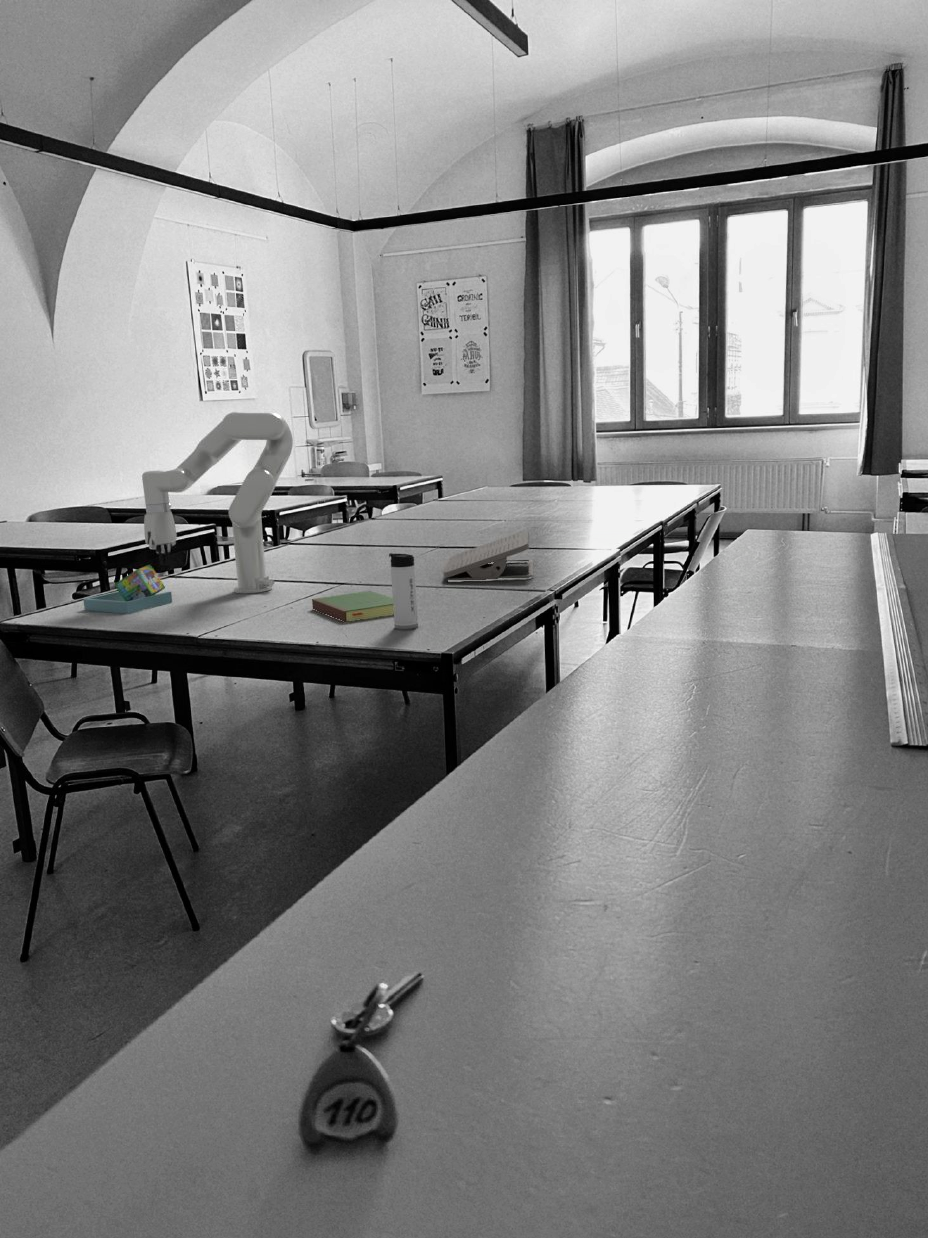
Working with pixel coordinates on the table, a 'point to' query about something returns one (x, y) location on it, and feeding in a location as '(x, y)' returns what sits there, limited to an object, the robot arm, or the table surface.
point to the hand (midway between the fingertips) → (165, 564)
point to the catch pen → (119, 605)
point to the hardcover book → (355, 606)
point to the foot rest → (489, 559)
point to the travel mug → (404, 591)
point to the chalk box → (140, 584)
